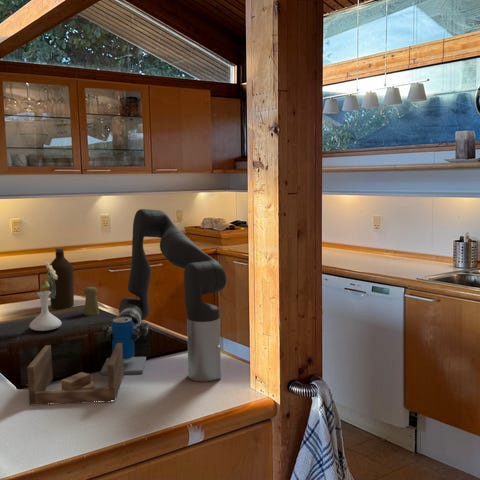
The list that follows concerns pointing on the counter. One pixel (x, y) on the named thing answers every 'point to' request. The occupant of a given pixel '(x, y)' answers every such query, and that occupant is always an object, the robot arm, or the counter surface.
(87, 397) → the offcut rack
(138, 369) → the grey mat
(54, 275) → the flower in vase
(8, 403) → the counter surface
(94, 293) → the cork
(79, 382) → the upper offcut
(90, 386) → the lower offcut
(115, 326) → the beverage can
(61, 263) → the olive oil
